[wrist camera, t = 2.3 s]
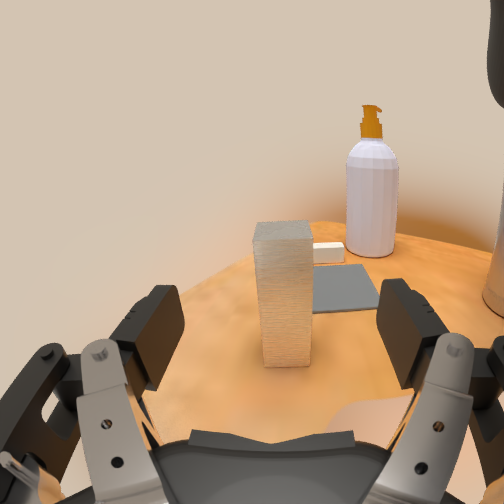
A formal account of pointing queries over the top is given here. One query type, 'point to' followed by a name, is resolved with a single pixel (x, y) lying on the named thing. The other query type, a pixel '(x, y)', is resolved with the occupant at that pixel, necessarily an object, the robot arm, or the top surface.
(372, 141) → the soap bottle
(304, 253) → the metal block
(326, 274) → the pad
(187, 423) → the top surface
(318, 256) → the corner piece
